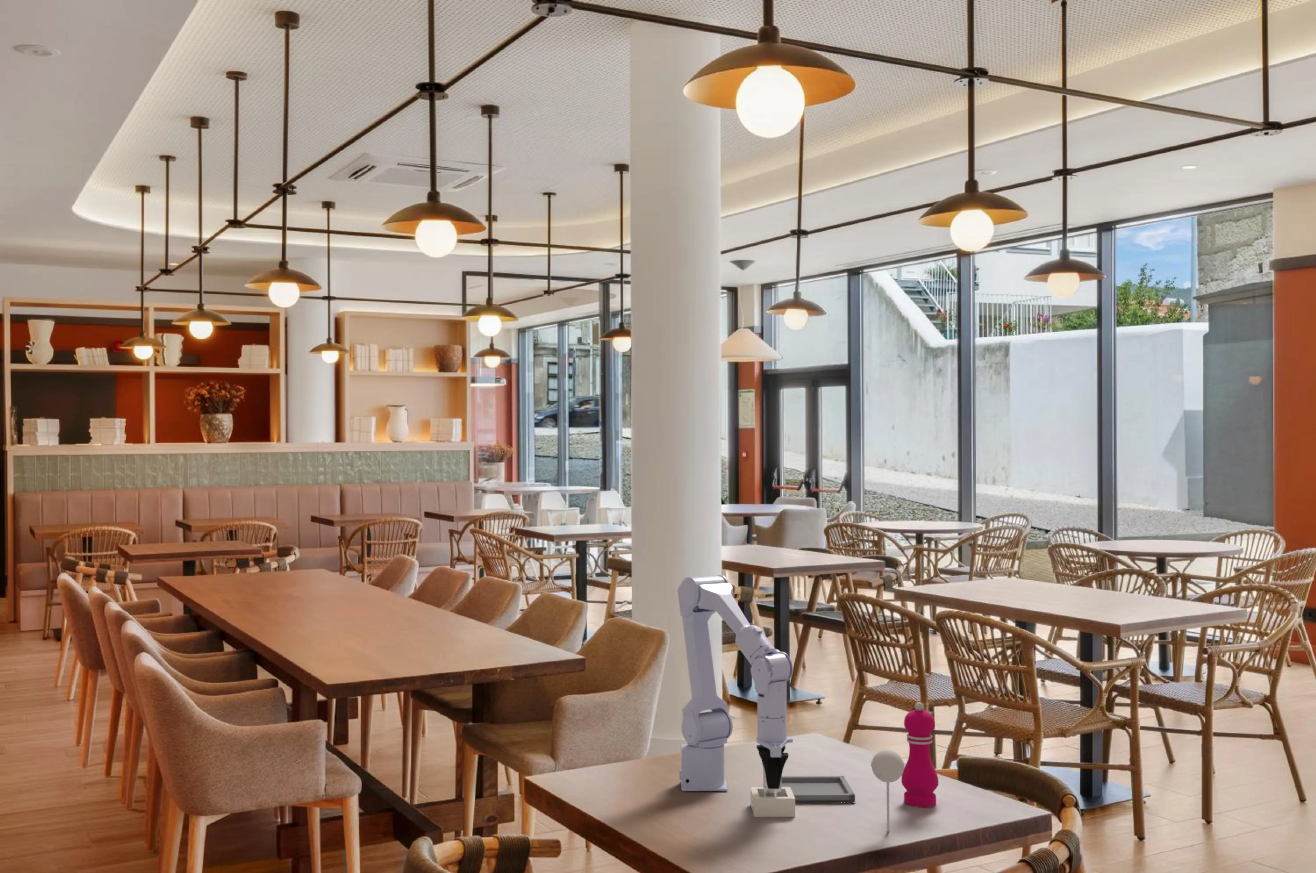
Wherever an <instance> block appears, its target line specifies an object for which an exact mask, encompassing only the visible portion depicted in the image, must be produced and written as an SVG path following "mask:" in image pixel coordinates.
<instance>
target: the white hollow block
mask: <svg viewBox="0 0 1316 873" xmlns="http://www.w3.org/2000/svg"><path fill="white" fill-rule="evenodd" d="M750 807H751V811H752V814H753V817H754V818H796V803H795V797H794V795H793V792H792V790H791V788H790V787H781V797H763V786H755V787H754V786H751V787H750Z"/></svg>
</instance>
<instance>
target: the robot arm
mask: <svg viewBox="0 0 1316 873" xmlns="http://www.w3.org/2000/svg"><path fill="white" fill-rule="evenodd" d="M733 589H734V588H733V586H732V584H731V583H730V582H729V580H728V578H727V577H726V576H725V575H723V574H717V575H711V576H710V575H709V576H698V577H697V576H695V577H692V576H687V577H684V578H683V580H682V581H681V582H680V584H679V587H678V588H677V597H678V598H677V599H678V605H679V611H680V613H679V614H680V616H681V620H682V628H683V637H684V645H685V653H686V654H685V655H686V661H687V669H688V676H689V678H688V680H689V686H690V693H691V699H690V700H689V701H688V702H687V703H686V705H685V706H684V707H683V708H682V710H681V711H682V722H681V733H682V736H683V738H684V740H685V741H686V743H682V744H680V771H679V781H680V787H681V791H682V792H726V791H727V792H728V785H727V781H726V778H725V744H728V739H729V738H730V737H731V736H732V733H733V728H734V727H733V719H732V717H731V715H730V712H729V709H728V708H729V707H728V703H727V702H726V701H724V700H723V699H722V698H721V697H719V696H718V693H717V684H716V679H715V678H716V677H715V671H714V670H715V669H714V663H713V662H714V661H713V654H712V647H711V640H710V639H711V638H710V630H709V624H708V622H709V620H710V618H712V615H714V614H715V613H717V614H718V616H720V618H722V620H723V621H724V623H726V625H727V626H728V627H729V628H730V629H731V630H732V632H734V634H735V639H734V641H735V645H736V646H737V647H738V649H739V650H740V652H741V653H742V654H743V655H744V656H743V657H745V659H746V660H747V661H748V663H749V664H750V666H751V667H750V673H751V674H750V675H751V678H752V680H753V683H754V690H755V693H757V694H756V696H757V697H756V698H757V710H756V711H757V713H756V714H757V718H756V719H757V722H756V723H757V736H756V743H757V745H756V747H755V748H756V749H757V751H758V755H759V758H760V759H761V762H762V763H761V764H762V766H763V765H764V769H765V775H766V782H767V786H768V789H779V786H780V782H781V776H783V775H782V774H783V770H784V767H785V764H786V762H787V760H788V759H789V753H788V752H785V750H786V745H787V744H789V743H791V744H793V742H794V738H793V737H791V736H787V732H788V725H787V722H788V720H787V719H788V714H787V712H788V711H787V710H788V709H787V706H788V705H787V701H788V700H787V684H788V683H787V682H788V681H790V679H792V676H793V672H794V669H793V668H794V667H793V666H794V665H793V662H792V659H791V658H790V656H789V655H788V653H786V652H784V651H780V650H779V649H777V648H775V647H774V645H773V644H772V643H771V642H770V640H769V638H768V637H767V636H766V634H765V633H764V632H763V629H762V628H761V627H760V626H758V625H755V624H754V625H753V624H751V625H750V623H749V620H748V619H747V617H746V616H745V614H744V613H743V610H741V608H740V606H739V604H738V603H737V601H736V600H735V598H734V597H733V595H734V590H733ZM709 710H710V711H709ZM703 711H706V712H703Z"/></svg>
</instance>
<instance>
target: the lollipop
mask: <svg viewBox="0 0 1316 873" xmlns="http://www.w3.org/2000/svg"><path fill="white" fill-rule="evenodd" d="M870 762H871V763H870V767H871V770H872V772H873V775H874V776H875V777H876V778H877V779H878V780H879V781H880V782H884V783H886V833H890V831H891V830H890V783H894V782H896V781H898V780H899V779H901V778H902V774H903V771H904V768H905V762H904V760H903V758H902V756H901V754H899V753H898V752H897V751H895V750H892V749H886V748H885V749H881V750H879V751H878V752H876V753H875V754H874V755H873V757H872V760H871V761H870Z"/></svg>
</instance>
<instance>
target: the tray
mask: <svg viewBox="0 0 1316 873" xmlns="http://www.w3.org/2000/svg"><path fill="white" fill-rule="evenodd" d="M781 787H790V788H791V790H792V792H793V795H794V797H795V804H854V803H853V802H855V803H856V795H855V793H854V791H853V789H852V787H851V786H850V784H849V783H848V781H847V780H846V777H845V776H844V775H788V776H787V775H782V776H781ZM841 802H842V803H841ZM844 802H845V803H844ZM847 802H849V803H847ZM850 802H852V803H850Z"/></svg>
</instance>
